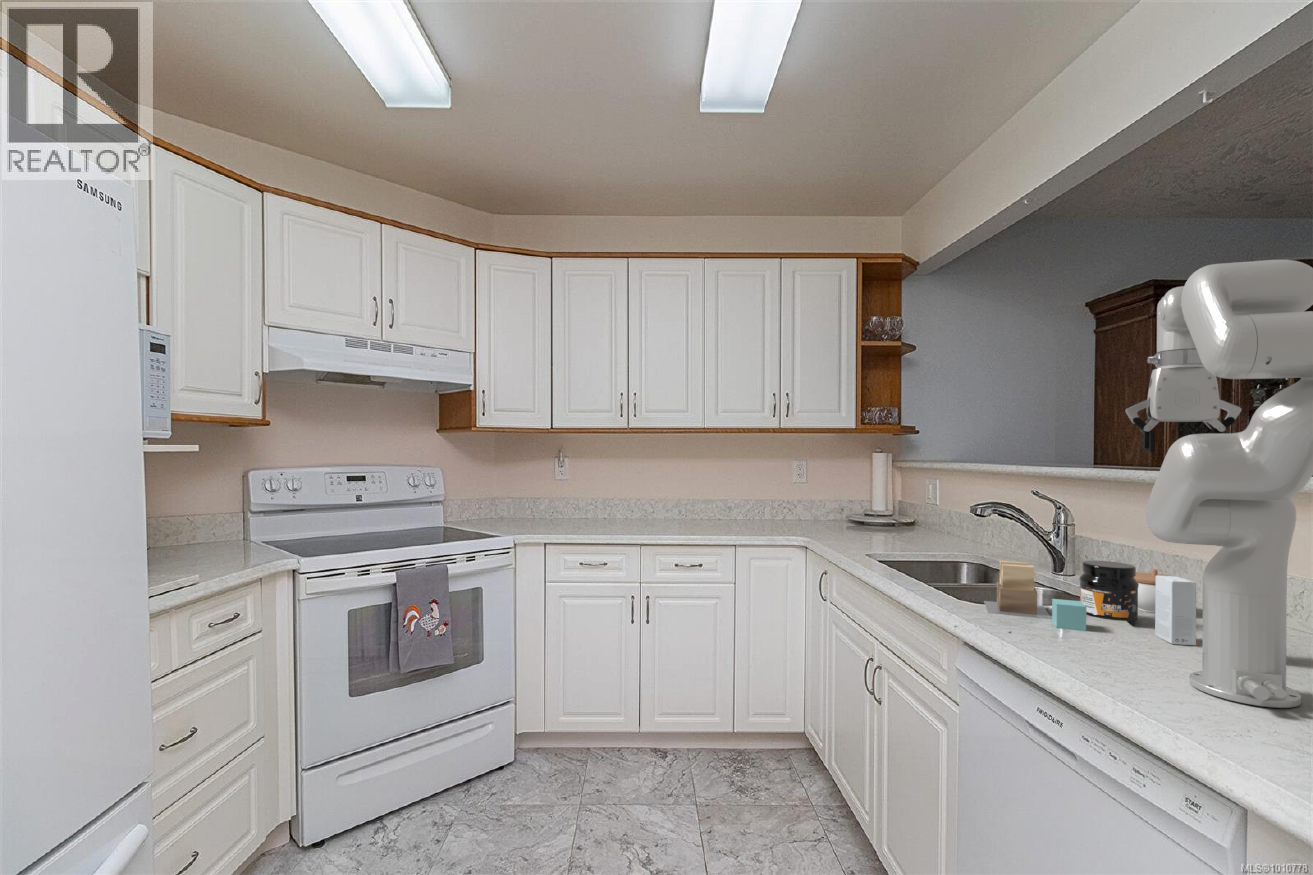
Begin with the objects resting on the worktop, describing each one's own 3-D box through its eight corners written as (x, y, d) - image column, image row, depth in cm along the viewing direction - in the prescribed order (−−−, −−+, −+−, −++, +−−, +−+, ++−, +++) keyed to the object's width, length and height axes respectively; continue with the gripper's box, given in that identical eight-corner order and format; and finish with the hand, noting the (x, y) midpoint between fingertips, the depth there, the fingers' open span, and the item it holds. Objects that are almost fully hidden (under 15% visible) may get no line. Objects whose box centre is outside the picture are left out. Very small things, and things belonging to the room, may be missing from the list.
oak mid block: (1034, 590, 141) (1034, 567, 141) (1002, 588, 143) (1002, 565, 143) (1029, 585, 146) (1029, 562, 146) (999, 582, 149) (999, 560, 149)
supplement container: (1077, 620, 140) (1077, 564, 141) (1081, 611, 149) (1081, 558, 149) (1138, 629, 134) (1138, 570, 134) (1138, 618, 143) (1138, 563, 143)
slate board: (1052, 624, 137) (1052, 619, 137) (988, 618, 141) (988, 612, 141) (1042, 611, 148) (1042, 606, 148) (983, 605, 152) (983, 600, 152)
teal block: (1086, 637, 128) (1086, 606, 128) (1056, 634, 130) (1056, 604, 130) (1080, 630, 133) (1080, 601, 133) (1052, 628, 135) (1052, 598, 135)
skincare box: (1197, 646, 123) (1197, 582, 123) (1171, 644, 124) (1171, 581, 124) (1178, 637, 129) (1178, 576, 129) (1153, 635, 130) (1154, 574, 130)
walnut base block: (1036, 614, 140) (1037, 591, 140) (1000, 611, 143) (1000, 588, 143) (1031, 607, 147) (1032, 585, 147) (996, 604, 149) (996, 582, 149)
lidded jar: (1128, 602, 158) (1128, 563, 158) (1185, 610, 151) (1185, 569, 151) (1123, 610, 149) (1123, 569, 150) (1183, 619, 142) (1183, 576, 143)
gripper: (1131, 361, 123) (1131, 452, 122) (1249, 357, 116) (1249, 454, 116) (1121, 365, 129) (1120, 452, 129) (1231, 362, 123) (1231, 453, 123)
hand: (1181, 453), depth 123 cm, fingers open, 9 cm apart
